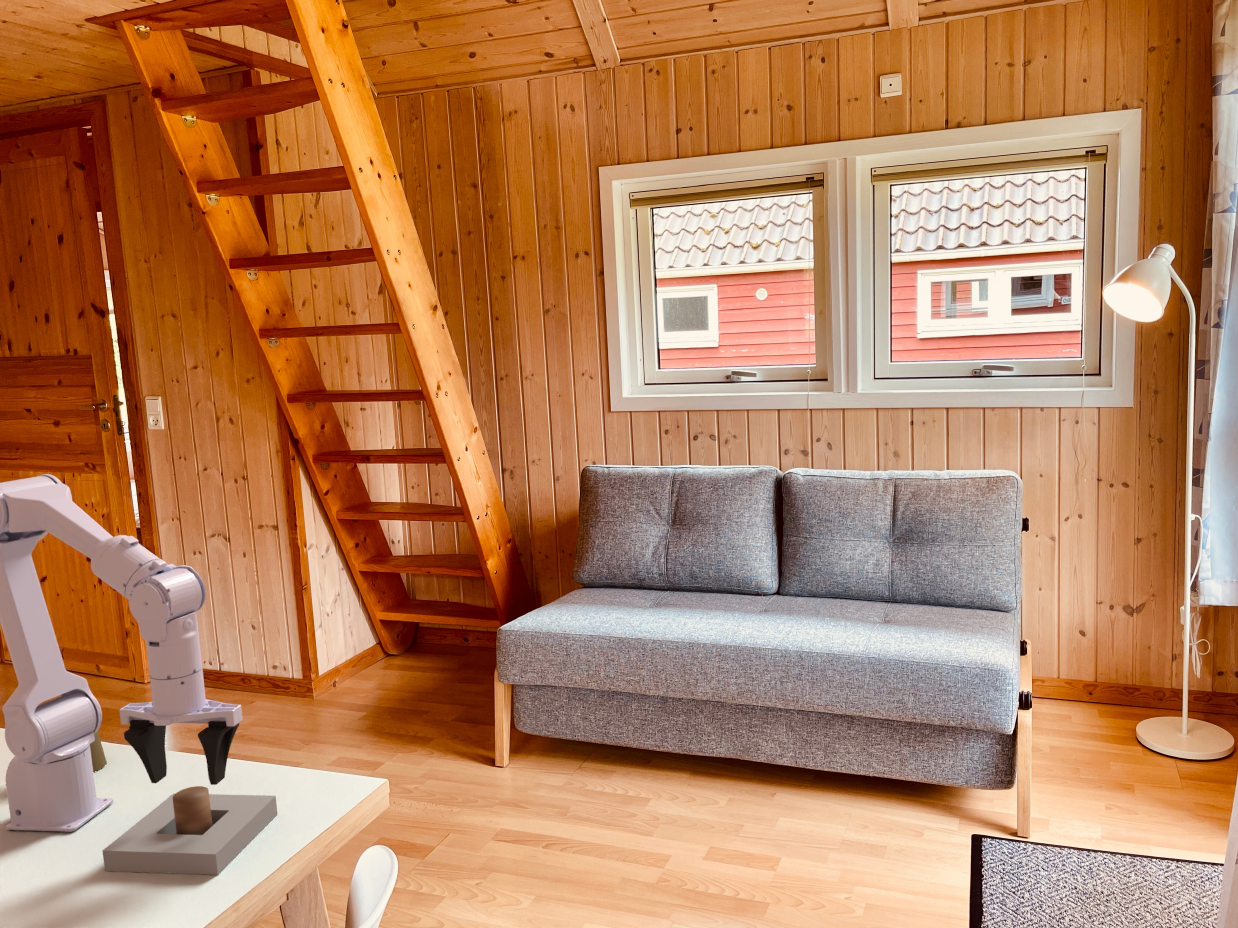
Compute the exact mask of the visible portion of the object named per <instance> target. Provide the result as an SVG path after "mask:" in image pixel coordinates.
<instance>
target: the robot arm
mask: <svg viewBox="0 0 1238 928" xmlns="http://www.w3.org/2000/svg"><path fill="white" fill-rule="evenodd" d="M48 534H51V535H52V536H54V537H55V538H57V539H59V541H62V542H63V543H64V544H66V545H68V546H70V547H71V548H73V549H74V550H76V551H78V552H79V553H81V554H82V555H84V556H86V557H87V558H89V559H90V568H91V572H92V573H93V575H95V576H96V577H98V578H99V579H100V580H101V581H103V582H104V583H106V584H107V585H108V586H110V587H111V588H112V589H114V590H115V591H116V592H118V593H119V594H120V595H121V596H123V597H124V598H125V599H127V600H128V601H127V602H128V607H129V610H130V612H131V615H132V617H133V618H134V619H135V621H136V623H137V624H138V627H139V635H140V636H141V637H142V640H143V641H145V646H146V653H147V663H148V675H149V682H150V691H151V698H152V701H149V702H148V701H147V702H146V701H145V702H135V703H133V702H132V703H131V702H130V703H128V704H126V705H125V706H123V707H121V708H120V709H119V718H120V725H122V726H123V725H124V726H125V725H126V726H128V729H127V730H126V731H124V732H123V737H124V740H125V741H126V742H127V743H128V744H129V745H130V746H131V747H132V748H133V749H134V751H135V752H136V754H137V755H138V757H139V759H140V760H141V762H142V764H143V766H144V768H145V770H146V773H147V775H148V778H149V780H150V783H151V784H157V783H159V782H160V781H161V780H163V779H164V778H166V777H167V773H168V772H167V769H168V765H167V755H166V732H167V731H166V730H167V726H171V725H172V724H203V725H204V724H205V725H208V726H207V727H205V728H204V729H202V730H201V731H200V732H198V733H197V738H198V739H199V742H200V745H201V746H202V748H203V749H202V750H203V753H204V755H205V760H206V766H207V767H206V768H207V776H208V780H209V783H210V785H212V786H216V785H218V784H220V783H221V781H222V780H224V779H225V777H226V770H227V763H228V757H229V752H230V749H231V746H232V743H233V740H234V737H235V735H236V732H237V730H238V728H239V726H240V722H242V721H243V720H244V719H243V709H242V704H234V703H226V702H222V701H217V700H213V699H212V700H211V699H207V698H206V689H205V681H204V669H203V660H202V659H203V658H202V650H201V642H200V633H199V623H198V613H197V612H198V611H199V610H201V609H202V608H203V607H204V605H205V603H206V598H207V589H206V585H205V583H204V580H203V579H202V577H201V575H200V574H199V573H198V572H197V571H196V570H195V569H194V568H193V567H192V566H189V565H184V564H183V565H175V564H174V563H169V564H168V563H167V562H166V561H164V560H163V559H161V558H160V557H158V556H157V555H155V554H154V553H153V552H151V551H150V550H148V549H147V548H146V547H144V545H142V544H141V543H139V539H137V538H136V537H135V536H133V535H130V536H129V535H125V534H120V535H116V536H115V535H114V536H113V535H111V534H110V532H108V531H107V530H106V529H105V528H104V527H102V526H101V525H100V524H99V523H98V522H97V521H96V520H95V519H93V517H91V516H90V515H89V514H88V513H86V512H85V511H84V510H83V509H82V508H81V507H79V506H78V505H77V504H76V503H75V502H74V501H73V496H72V492H71V488H70V487H69V486H68V485H67V484H65V483H63V482H62V481H61V480H60V479H59V478H57V476H55V475H53V474H49V473H44V474H39V475H37V476H32V477H26V478H21V479H15V480H9V481H3V482H0V627H1V631H2V633H3V636H4V640H5V642H6V646H7V649H8V652H9V656H10V660H11V662H12V666H13V670H14V674H15V675H16V679H17V682H18V685H17V687H16V689H15V690H14V691H13V692H12V693H11V695H10V696H9V698H8V699H7V700H6V701H5V703H4V705H3V706H2V708H1V709H2V713H3V716H4V724H5V727H4V739H5V743H6V746H7V747H8V750H9V752H11V753H12V755H13V757H12V758H11V760H10V762H9V763H8V765H7V769H6V771H5V772H6V773H5V786H6V788H5V789H6V793H7V794H6V795H7V801H8V810H9V817H10V823H9V824H7V825H6V830H8V831H11V830H13V831H38V832H39V831H40V832H42V831H43V832H74V831H76V830H78V829H79V828H80V827H82V826H83V825H85V823H87V822H88V821H90V820H91V819H93V818H94V817H95V816H96V815H98V814H99V813H101V812H102V811H103V810H105V809H106V808H108V806H110V805H111V804H113V802H114V799H113V798H109V797H108V798H104V797H97V791H96V782H95V775H94V773H93V766H92V758H91V750H90V744H91V743H92V742H94V741H95V738H94V733H95V732H97V731H98V732H99V730H100V728H101V725H102V722H103V711H102V707H101V705H100V703H99V701H98V699H97V698H96V697H95V695H94V694H93V693H92V690H91V688H90V687H89V683H88V680H87V679H86V678H85V677H83V676H80V675H78V674H76V673H72V672H70V671H68V670H66V666H65V663H64V660H63V657H62V656H63V655H62V653H61V650H60V646H59V644H58V640H57V637H56V634H55V630H54V626H53V623H52V619H51V617H50V614H49V613H50V612H49V611H48V606H47V604H46V600H45V597H44V593H43V590H42V587H41V583H40V580H39V577H38V574H37V570H36V566H35V563H34V560H33V557H32V553H33V551H34V550H35V548H36V546H37V544H39V541H41V540H43V539H44V538H45V537H46V536H47V535H48ZM51 699H52V700H51ZM48 700H49V701H48ZM43 702H44V703H43Z"/></svg>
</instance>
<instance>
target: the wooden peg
mask: <svg viewBox="0 0 1238 928" xmlns="http://www.w3.org/2000/svg"><path fill="white" fill-rule="evenodd" d="M209 790H210V789H208V787H207V786H206V787H205V786H202V785H201V786H200V785H198V786H197V785H196V786H190V787H187V788H184V789H180V790H179V791H177V792H175V794H174V793H173V794H174V796H173V807H174V815H175V823H176V831H177V834H180V835H203V834H204V833H205V832H206V831H208V830H209V829H210V828H211V827H212V826H213V825H212V816H211V807H210V799H209V794H210V792H209Z"/></svg>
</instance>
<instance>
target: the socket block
mask: <svg viewBox="0 0 1238 928" xmlns="http://www.w3.org/2000/svg"><path fill="white" fill-rule="evenodd" d="M174 794H176V792H175V793H172V794H171V795H170V796H169V797H167V798H166V799H165V800H163V801H162V802H161V803H160V804H159V805H157V806H156V807H155V808H154V809H152V810H151V811H150V812H148V813H147V814H146V815H145V816H143V818H141V819H140V820H139V821H137V822H136V823H135V824H134V825H132V826H131V827H130V828H129V829H128V830H126V831H125V832H124V833H123V834H121V835H120V836H119V837H117V838H116V839H115V840H114V841H112V842H111V843H110V844H109V845H107V847H105V848H104V849H102V857H103V859H102V860H103V865H104V871H105V872H125V873H132V872H133V873H150V874H151V873H153V874H154V873H155V874H156V873H157V874H158V873H159V874H184V875H186V874H187V875H188V874H189V875H206V876H207V875H210V876H213V875H215V876H219V875H220V873H221V872H222V871H224V869H226V867H227V866H228V865H229V864H230V863H232V861H233V860H234V859H236V857H237V856H239V855H240V853H241V852H242V851H243V850H244V849H245V848H246V847H247V846H248V845H249V844H250V843H251V842H252V841H253V840H254V839H255V838H256V837H257V836H258V835H259V834H260V833H261V832H262V831H263V830H264V829H265V828H266V827H267V826H268V824H270V823H271V822H272V820H273V819H275V818H276V817H277V815H278V806H277V797H276V795H259V794H258V795H257V794H218V793H217V794H214V793H213V794H212V793H211V794H210V793H209V799H210V807H211V816H212V825H213V826H212V827H211V828H210V829H209V830H208V831H206V832H205V833H204V834H203V835H180V834H177V831H176V823H175V815H174V807H173V796H174Z"/></svg>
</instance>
